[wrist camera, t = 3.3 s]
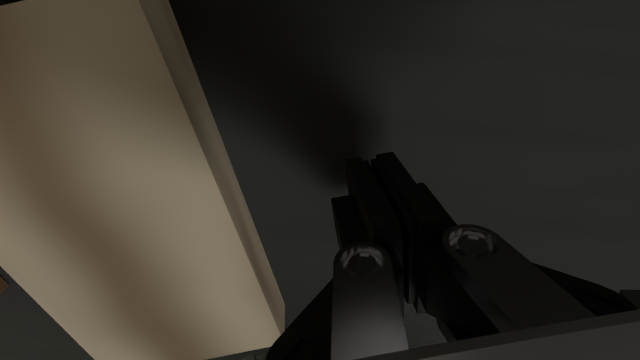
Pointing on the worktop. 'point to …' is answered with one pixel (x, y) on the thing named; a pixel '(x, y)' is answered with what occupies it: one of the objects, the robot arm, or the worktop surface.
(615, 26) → the worktop surface
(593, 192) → the worktop surface
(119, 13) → the board
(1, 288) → the block
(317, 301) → the robot arm
